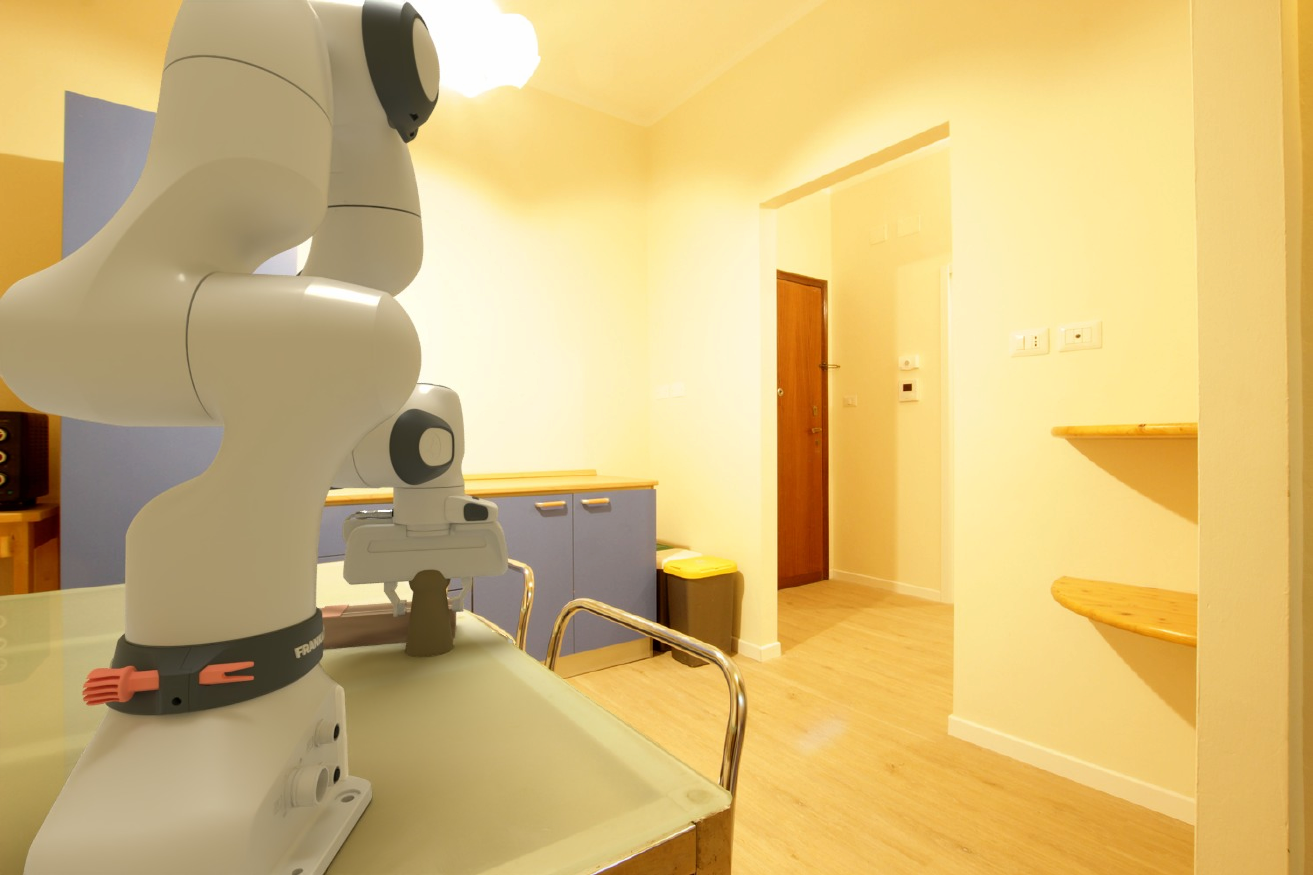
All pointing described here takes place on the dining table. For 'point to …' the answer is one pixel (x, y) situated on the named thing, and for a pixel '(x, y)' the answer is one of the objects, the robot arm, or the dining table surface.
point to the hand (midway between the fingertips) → (429, 613)
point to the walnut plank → (367, 624)
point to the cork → (429, 616)
